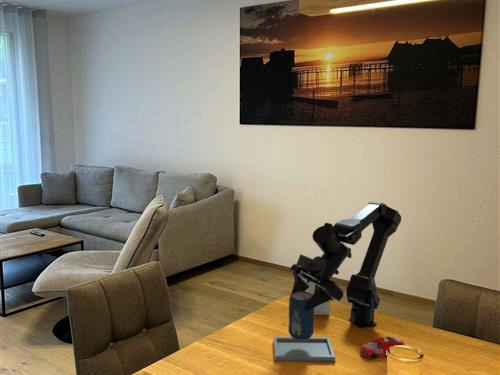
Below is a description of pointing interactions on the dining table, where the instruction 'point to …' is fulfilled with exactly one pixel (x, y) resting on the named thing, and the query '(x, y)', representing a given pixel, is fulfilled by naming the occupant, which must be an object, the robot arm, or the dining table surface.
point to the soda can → (300, 316)
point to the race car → (379, 347)
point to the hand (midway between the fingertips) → (297, 305)
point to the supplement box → (322, 308)
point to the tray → (303, 350)
